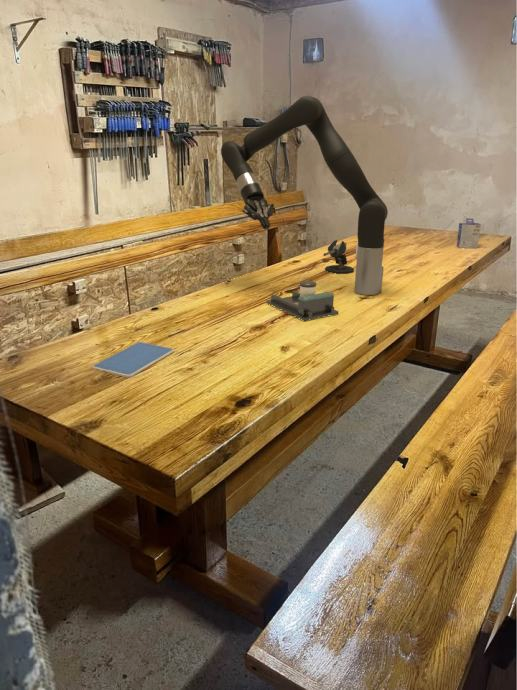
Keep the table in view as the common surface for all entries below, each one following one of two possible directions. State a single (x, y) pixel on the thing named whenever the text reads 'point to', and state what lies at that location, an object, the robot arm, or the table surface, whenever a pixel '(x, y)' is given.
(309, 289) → the knob carriage
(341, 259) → the gun turret
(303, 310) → the knob mount
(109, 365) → the tablet computer
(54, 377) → the table surface
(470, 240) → the ink cartridge box
